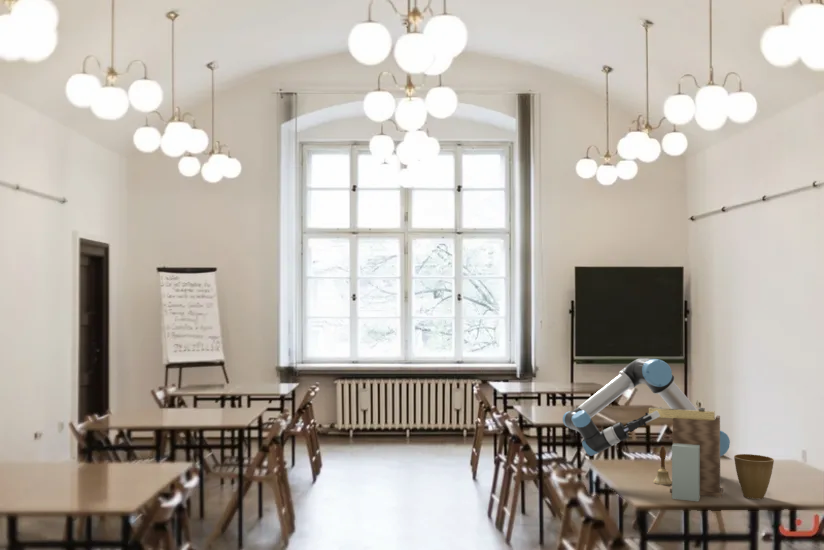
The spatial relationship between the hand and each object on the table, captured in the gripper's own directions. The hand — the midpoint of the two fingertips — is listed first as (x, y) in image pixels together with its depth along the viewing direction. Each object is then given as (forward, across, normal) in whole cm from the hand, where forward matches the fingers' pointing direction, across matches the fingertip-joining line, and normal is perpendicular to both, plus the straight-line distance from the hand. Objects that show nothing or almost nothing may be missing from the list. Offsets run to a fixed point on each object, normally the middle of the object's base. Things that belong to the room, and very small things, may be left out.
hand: (660, 411), depth 337 cm
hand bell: (-17, -12, -28) cm, 35 cm away
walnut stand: (-4, 0, -35) cm, 35 cm away
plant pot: (+15, -1, -46) cm, 49 cm away
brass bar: (+6, 0, -6) cm, 9 cm away
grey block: (-6, +14, -34) cm, 37 cm away
